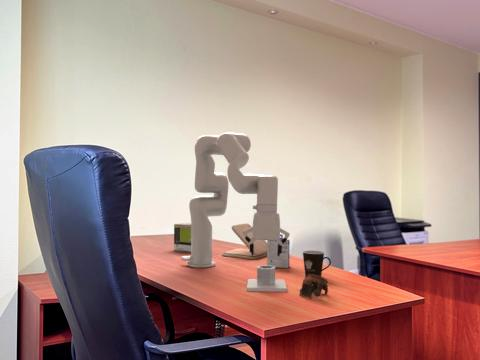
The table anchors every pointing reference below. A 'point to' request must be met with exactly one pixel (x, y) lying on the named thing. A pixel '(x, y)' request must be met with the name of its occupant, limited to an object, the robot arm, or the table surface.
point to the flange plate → (278, 286)
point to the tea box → (182, 237)
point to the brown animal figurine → (313, 286)
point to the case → (259, 245)
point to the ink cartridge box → (272, 255)
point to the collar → (266, 275)
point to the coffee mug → (314, 262)
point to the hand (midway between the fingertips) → (265, 255)
